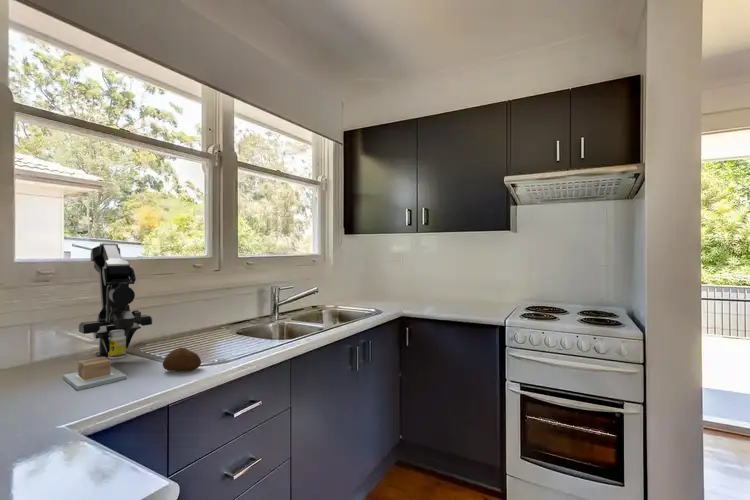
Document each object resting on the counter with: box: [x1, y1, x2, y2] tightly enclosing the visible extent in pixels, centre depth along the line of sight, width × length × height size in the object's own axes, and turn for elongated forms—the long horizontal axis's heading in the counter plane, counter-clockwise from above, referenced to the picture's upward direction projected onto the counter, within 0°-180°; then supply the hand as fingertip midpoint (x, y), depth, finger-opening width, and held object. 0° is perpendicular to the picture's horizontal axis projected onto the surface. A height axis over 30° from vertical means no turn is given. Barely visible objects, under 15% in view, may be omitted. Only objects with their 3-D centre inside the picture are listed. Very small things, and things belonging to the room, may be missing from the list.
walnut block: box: [77, 356, 111, 380], centre depth 104 cm, size 6×6×4 cm
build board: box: [62, 365, 127, 391], centre depth 104 cm, size 14×11×1 cm
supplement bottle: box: [107, 330, 127, 360], centre depth 118 cm, size 5×5×8 cm
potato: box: [162, 347, 202, 373], centre depth 111 cm, size 7×10×7 cm
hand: (117, 350), depth 118 cm, fingers closed on supplement bottle, 5 cm apart
